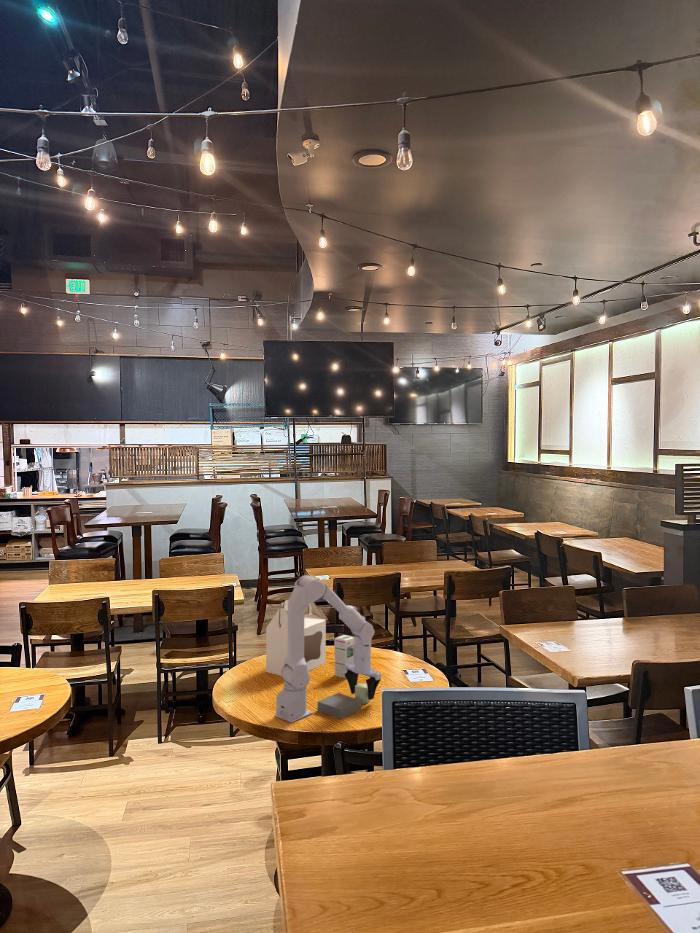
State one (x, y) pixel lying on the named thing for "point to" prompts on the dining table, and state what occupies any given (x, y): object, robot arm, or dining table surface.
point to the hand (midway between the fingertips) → (362, 696)
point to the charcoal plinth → (339, 705)
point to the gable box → (312, 639)
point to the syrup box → (343, 654)
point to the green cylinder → (362, 693)
